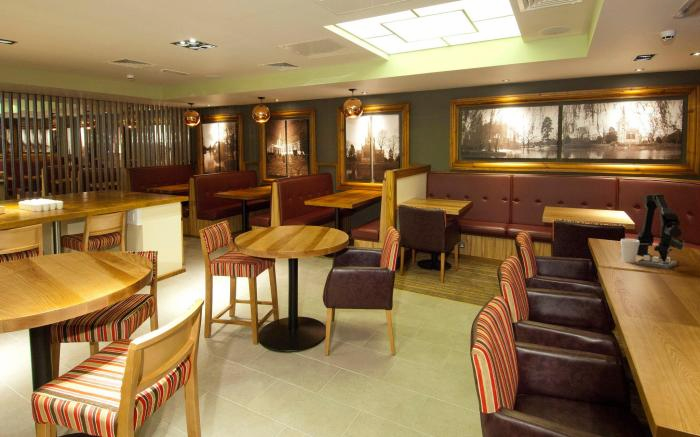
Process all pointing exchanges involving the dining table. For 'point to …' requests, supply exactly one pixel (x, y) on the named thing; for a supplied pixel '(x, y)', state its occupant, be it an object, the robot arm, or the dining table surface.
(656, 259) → the breaker middle
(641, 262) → the breaker panel
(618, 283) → the dining table surface
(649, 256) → the breaker
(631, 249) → the foam cup
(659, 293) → the dining table surface
